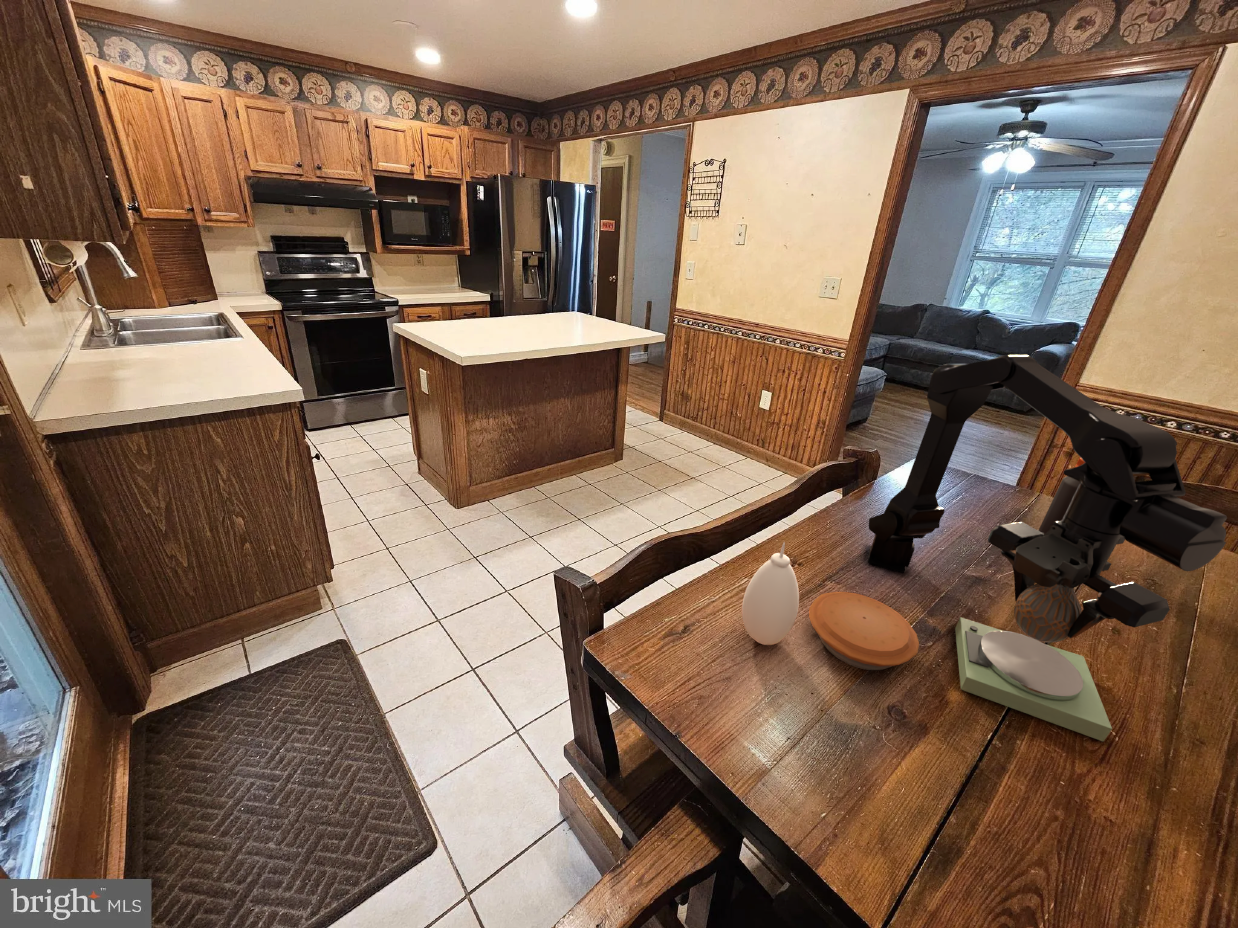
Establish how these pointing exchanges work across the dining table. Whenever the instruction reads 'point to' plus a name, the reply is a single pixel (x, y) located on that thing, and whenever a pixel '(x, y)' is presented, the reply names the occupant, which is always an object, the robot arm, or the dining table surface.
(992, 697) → the scale
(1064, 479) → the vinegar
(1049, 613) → the vase
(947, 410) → the robot arm
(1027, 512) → the dining table surface
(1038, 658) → the scale pan
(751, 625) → the sauce bottle
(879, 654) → the pie
